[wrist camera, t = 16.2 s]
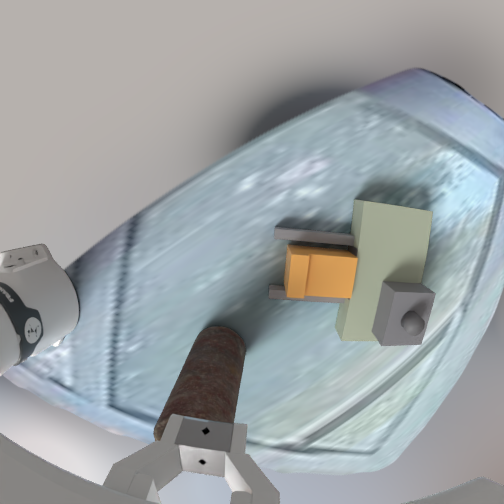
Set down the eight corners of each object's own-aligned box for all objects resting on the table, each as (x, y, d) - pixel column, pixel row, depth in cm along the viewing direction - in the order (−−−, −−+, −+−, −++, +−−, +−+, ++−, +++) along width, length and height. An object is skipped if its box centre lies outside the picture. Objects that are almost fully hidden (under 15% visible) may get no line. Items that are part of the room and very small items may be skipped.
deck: (265, 323, 40) (265, 362, 30) (277, 191, 36) (282, 191, 27) (395, 328, 40) (424, 362, 30) (418, 209, 36) (459, 216, 26)
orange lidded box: (283, 281, 39) (286, 297, 33) (287, 244, 38) (291, 254, 32) (341, 285, 39) (353, 301, 33) (346, 249, 38) (360, 260, 32)
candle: (212, 311, 40) (169, 407, 21) (257, 337, 41) (246, 444, 21) (188, 349, 42) (141, 446, 22) (229, 372, 42) (207, 477, 23)
